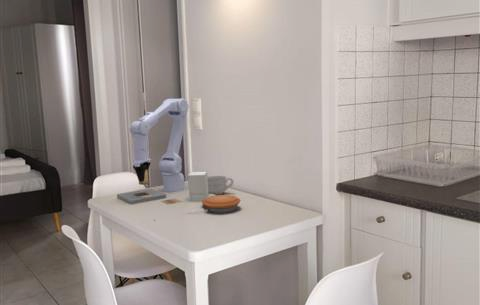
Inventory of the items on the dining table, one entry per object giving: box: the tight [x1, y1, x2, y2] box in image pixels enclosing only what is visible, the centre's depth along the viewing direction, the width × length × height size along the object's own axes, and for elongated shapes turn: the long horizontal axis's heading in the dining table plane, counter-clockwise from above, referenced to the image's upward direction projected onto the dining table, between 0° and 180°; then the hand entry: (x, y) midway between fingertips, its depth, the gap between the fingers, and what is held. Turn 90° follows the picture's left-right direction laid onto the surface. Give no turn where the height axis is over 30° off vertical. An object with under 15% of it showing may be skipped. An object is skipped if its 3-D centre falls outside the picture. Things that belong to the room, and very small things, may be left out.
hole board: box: [116, 188, 167, 205], centre depth 212 cm, size 16×16×3 cm
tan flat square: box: [160, 198, 184, 205], centre depth 204 cm, size 7×7×2 cm
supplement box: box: [187, 171, 210, 202], centre depth 206 cm, size 7×7×13 cm
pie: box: [201, 194, 241, 214], centre depth 194 cm, size 15×16×5 cm
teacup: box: [207, 175, 234, 196], centre depth 220 cm, size 14×11×8 cm
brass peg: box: [138, 169, 149, 186], centre depth 210 cm, size 4×4×6 cm
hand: (142, 180), depth 210 cm, fingers closed on brass peg, 4 cm apart
